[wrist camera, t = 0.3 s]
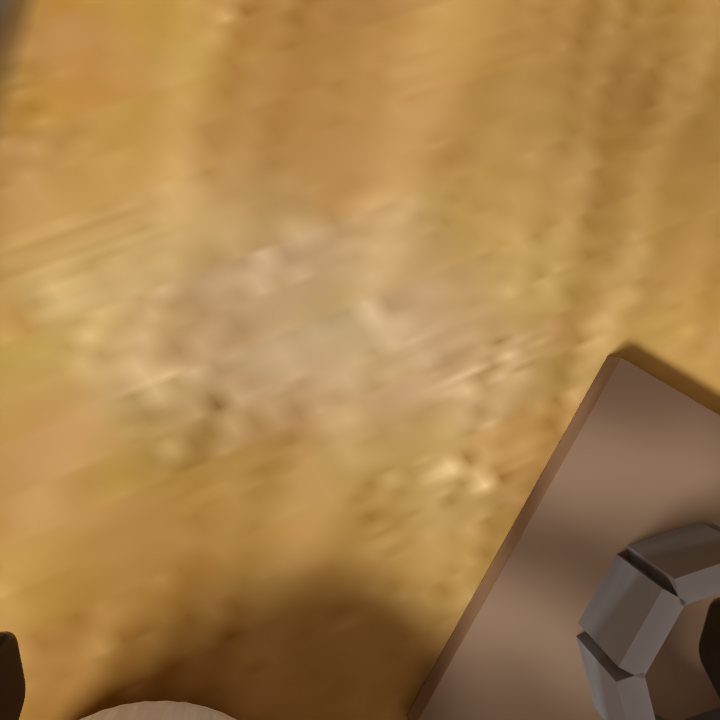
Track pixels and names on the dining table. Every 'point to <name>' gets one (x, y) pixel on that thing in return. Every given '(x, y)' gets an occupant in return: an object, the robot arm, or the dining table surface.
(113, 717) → the ramekin
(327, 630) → the dining table surface
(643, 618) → the roll holder stand
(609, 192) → the dining table surface
